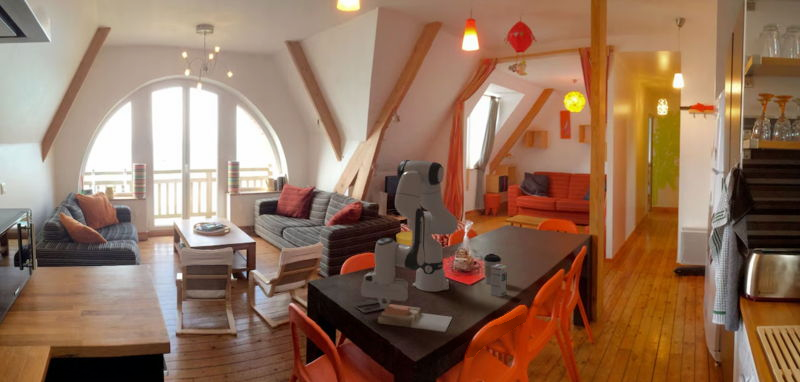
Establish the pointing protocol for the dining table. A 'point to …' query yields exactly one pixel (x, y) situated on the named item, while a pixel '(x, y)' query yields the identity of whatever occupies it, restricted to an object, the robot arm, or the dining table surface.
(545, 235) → the dining table surface
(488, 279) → the coffee cup
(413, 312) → the beige square slab
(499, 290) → the syrup box
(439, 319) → the mat
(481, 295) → the dining table surface
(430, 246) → the robot arm
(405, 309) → the pink flat block
